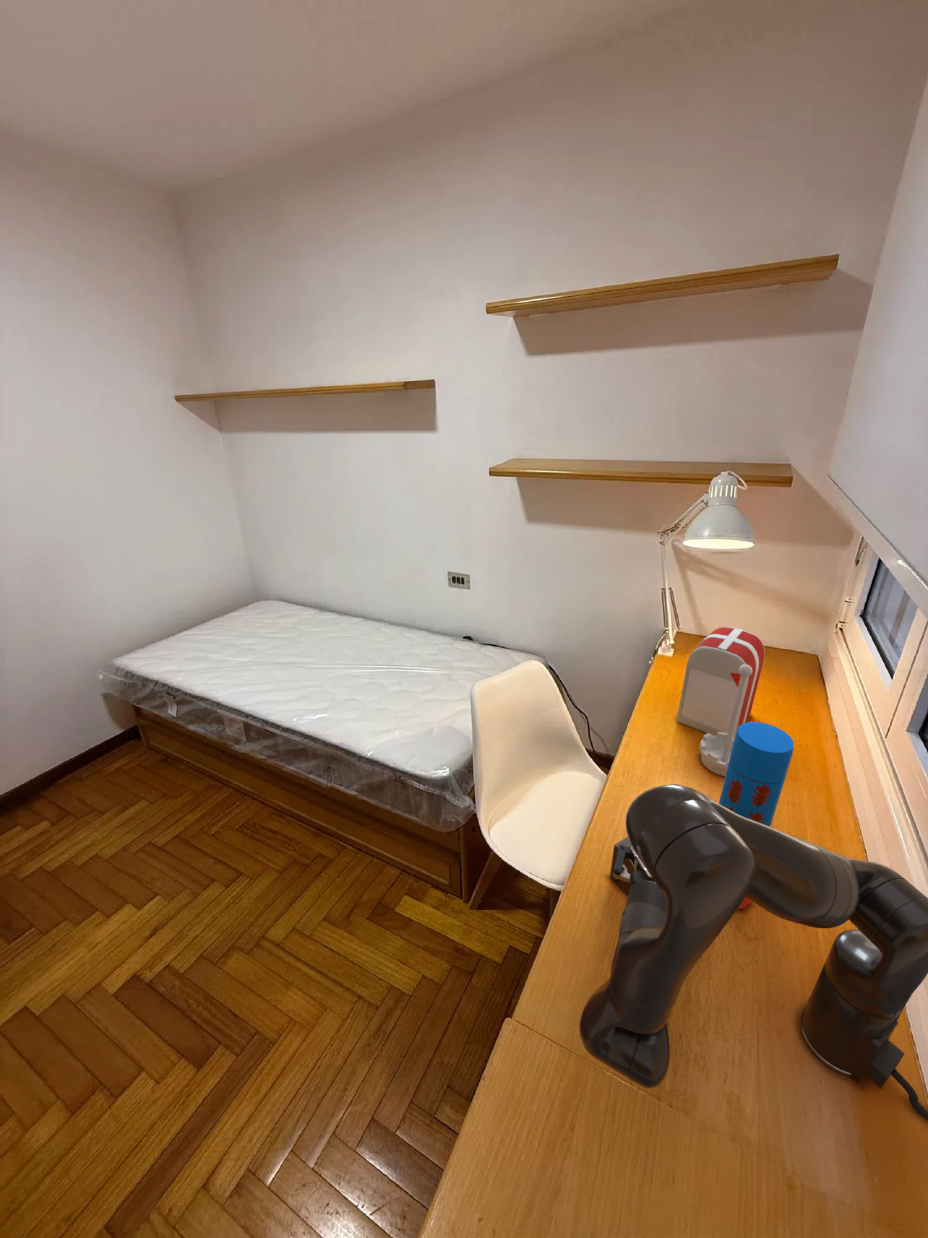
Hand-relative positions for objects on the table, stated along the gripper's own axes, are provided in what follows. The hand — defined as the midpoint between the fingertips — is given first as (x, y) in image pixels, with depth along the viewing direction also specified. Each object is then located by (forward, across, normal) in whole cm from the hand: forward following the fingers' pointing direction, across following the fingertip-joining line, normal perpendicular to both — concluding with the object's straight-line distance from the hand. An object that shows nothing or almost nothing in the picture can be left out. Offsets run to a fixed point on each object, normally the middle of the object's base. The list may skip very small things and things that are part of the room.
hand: (666, 845), depth 90 cm
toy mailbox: (+76, +5, -21) cm, 79 cm away
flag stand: (+55, +9, -21) cm, 60 cm away
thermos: (+34, +14, -21) cm, 42 cm away
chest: (+10, 0, -20) cm, 22 cm away
